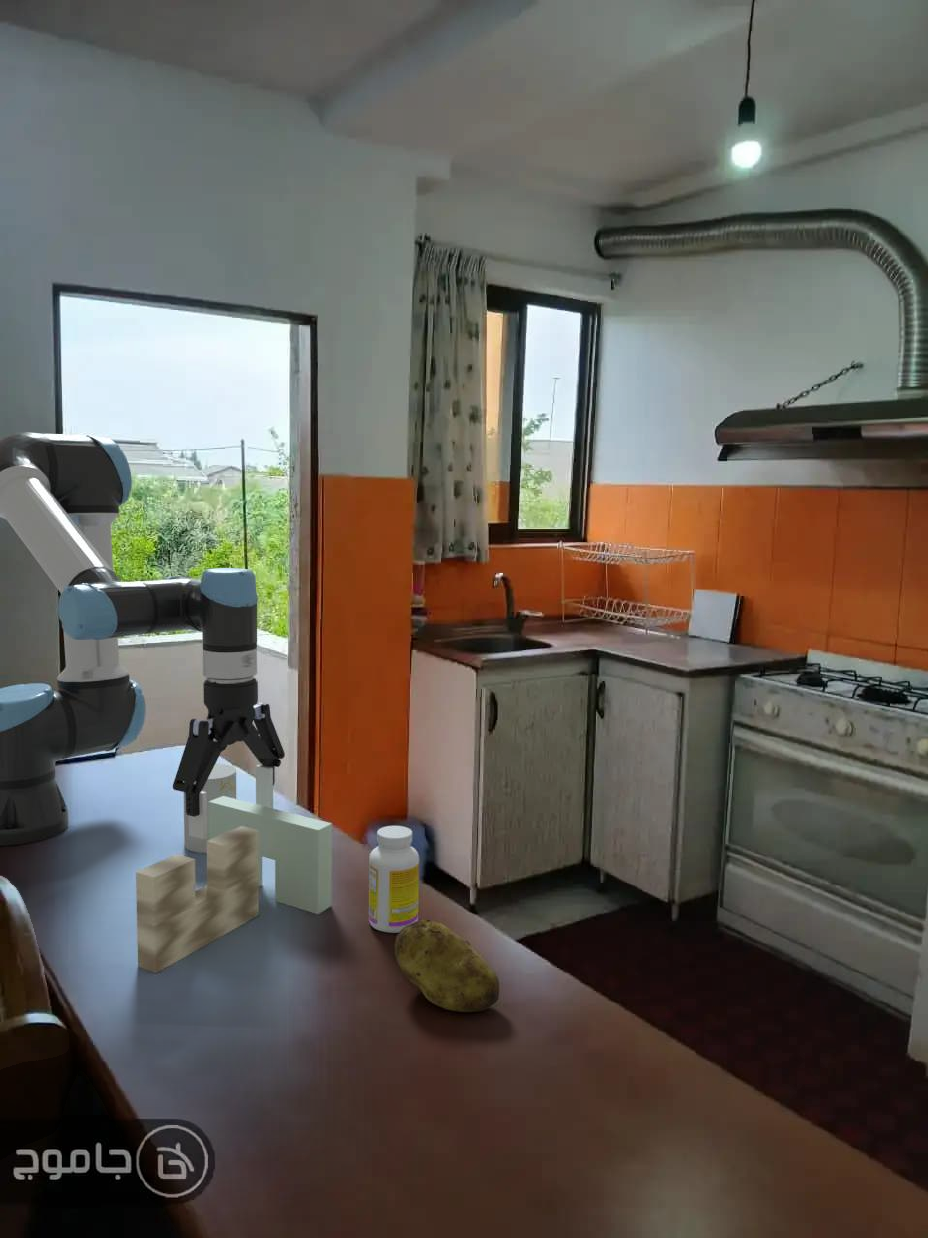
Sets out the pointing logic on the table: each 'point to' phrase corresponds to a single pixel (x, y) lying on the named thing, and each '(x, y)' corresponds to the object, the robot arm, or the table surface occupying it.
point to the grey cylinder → (215, 786)
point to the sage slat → (284, 849)
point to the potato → (445, 967)
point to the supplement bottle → (393, 880)
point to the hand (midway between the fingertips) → (232, 822)
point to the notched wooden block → (196, 899)
